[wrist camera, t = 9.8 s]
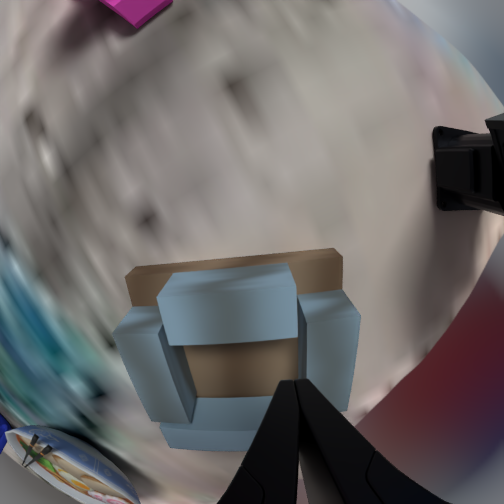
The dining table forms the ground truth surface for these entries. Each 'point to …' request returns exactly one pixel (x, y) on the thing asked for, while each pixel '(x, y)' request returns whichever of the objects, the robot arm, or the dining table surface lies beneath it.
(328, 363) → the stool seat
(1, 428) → the mug
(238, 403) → the folding leg
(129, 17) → the magenta blocky figure
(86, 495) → the ramen bowl
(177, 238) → the dining table surface
